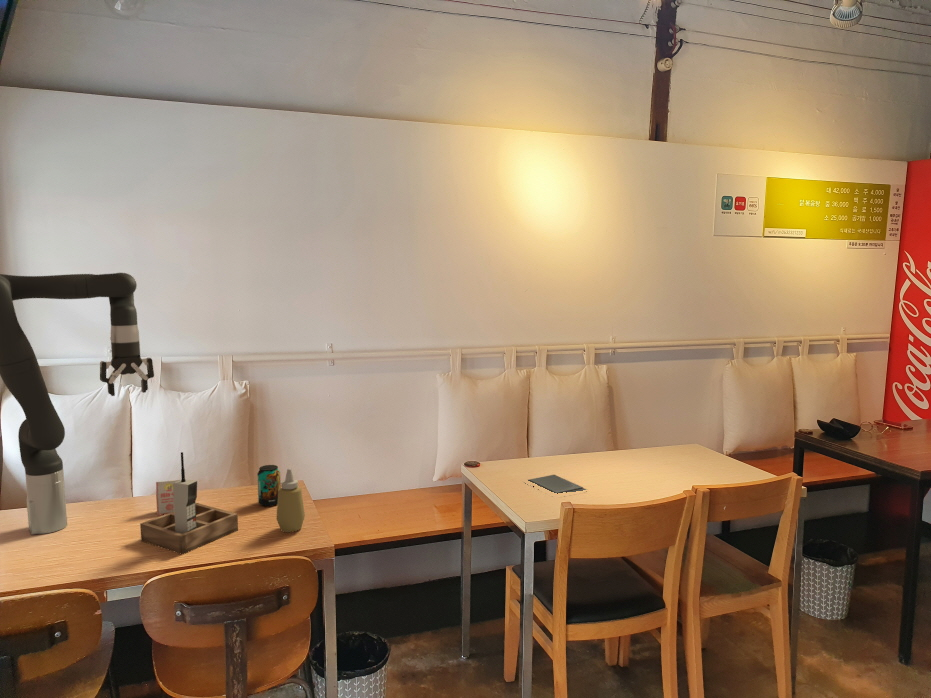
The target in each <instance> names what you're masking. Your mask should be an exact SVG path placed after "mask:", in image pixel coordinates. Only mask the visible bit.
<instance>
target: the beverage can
mask: <svg viewBox="0 0 931 698" xmlns="http://www.w3.org/2000/svg"><path fill="white" fill-rule="evenodd" d="M258 469H259V470H258V472H257V475H256V476H257V495H258V497H257V502H258V504H259V505H260V506H261V507H266V506H269V507H273V506H272V505H275V506H277V505H276V504H278V491H279V490H280V489H281V488H282V487H281V471H280V470H279V467H278V465H275V464H265V465H262V466H259V467H258Z"/></svg>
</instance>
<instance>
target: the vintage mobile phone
mask: <svg viewBox="0 0 931 698" xmlns="http://www.w3.org/2000/svg"><path fill="white" fill-rule="evenodd" d="M180 464H181V469H180V474H181V479H179V480H180V481H177V482H175V483H174V484H173V495H174V514H175V532H178V533H181V534H184V533H186V532H189V531H191V530H194V529H196V528H197V522H196V503H197V502H196V501H197V497H198V480H194V479H193V480H192V479H186V476H185V475H186V474H185V473H186V472H185V466H184V465H185V464H184V452H182V451H181V452H180Z"/></svg>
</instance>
